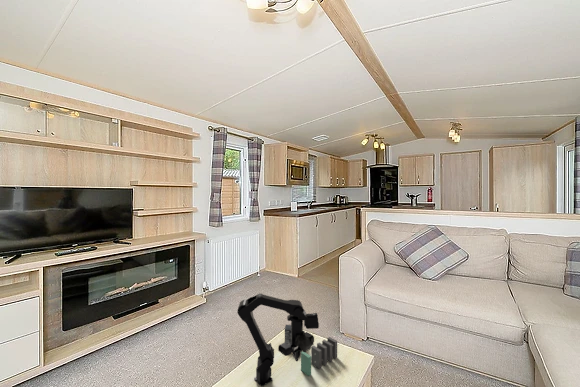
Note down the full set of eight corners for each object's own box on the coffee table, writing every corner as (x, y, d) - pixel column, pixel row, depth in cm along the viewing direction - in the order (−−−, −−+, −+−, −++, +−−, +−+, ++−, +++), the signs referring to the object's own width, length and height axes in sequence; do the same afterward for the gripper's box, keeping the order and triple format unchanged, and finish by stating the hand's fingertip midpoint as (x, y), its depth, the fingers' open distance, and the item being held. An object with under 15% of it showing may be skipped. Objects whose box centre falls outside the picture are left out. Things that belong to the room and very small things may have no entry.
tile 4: (329, 362, 136) (329, 345, 136) (322, 357, 140) (322, 340, 140) (332, 361, 137) (332, 344, 137) (324, 356, 142) (324, 339, 142)
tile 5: (334, 359, 139) (334, 342, 139) (327, 354, 143) (327, 338, 143) (337, 357, 140) (337, 341, 140) (329, 352, 144) (329, 336, 144)
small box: (303, 342, 155) (303, 324, 155) (302, 348, 148) (302, 330, 148) (285, 341, 156) (285, 323, 156) (284, 347, 149) (284, 329, 149)
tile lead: (308, 376, 126) (308, 357, 126) (300, 370, 130) (300, 352, 130) (311, 374, 127) (311, 356, 127) (303, 368, 131) (303, 351, 131)
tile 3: (324, 366, 133) (324, 348, 133) (316, 360, 138) (316, 343, 138) (327, 364, 135) (327, 347, 135) (319, 359, 139) (319, 342, 139)
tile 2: (318, 369, 131) (318, 351, 131) (311, 364, 135) (311, 346, 135) (321, 367, 132) (321, 350, 132) (313, 362, 136) (313, 345, 136)
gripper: (293, 343, 112) (293, 378, 112) (322, 328, 125) (322, 361, 125) (277, 332, 121) (277, 365, 121) (306, 320, 133) (306, 350, 133)
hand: (296, 360), depth 125 cm, fingers closed
